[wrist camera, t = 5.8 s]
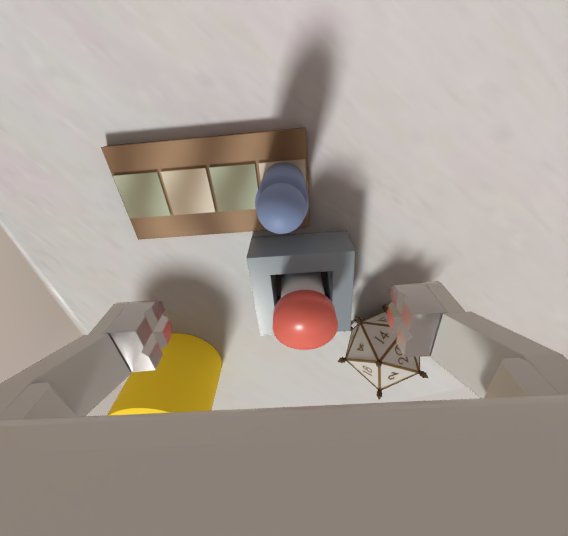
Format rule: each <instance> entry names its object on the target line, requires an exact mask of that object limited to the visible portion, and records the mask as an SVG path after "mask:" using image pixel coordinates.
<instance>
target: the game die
mask: <svg viewBox="0 0 568 536" xmlns="http://www.w3.org/2000/svg"><path fill="white" fill-rule="evenodd" d="M383 310H384V311H383V312H381V313H379V314H377V315H374V316H372V317H370V318H367V319H365V320H363V321H361V319H360V317H356V316H355V321H356V322H357V323H358V324H357V325H356V326H355V327H354V328H353V327H350V331H352V332H351V336H350V340H349V345H348V349H347V353H346V357H345V358H343V357H342V358H340V359H339V361H338V362H341V363H342V362H345V361H347V362H348V363H349V364H350V365H352V366H353V367H354V368H355V369H356V370H357V371H358V372H359V373H360V374H361V375H363V376H364V377H365V378H366V379H367V380H368V381H369V382H370V383H371V384H372V385H374V386H375V387H376V388H377V389H378V391H377V397H378V399H380V398H381V397H382V392H381V391H382V390H383V389H385V388H388V387H390V386H392V385H394V384H397V383H399V382H401V381H403V380H405V379H408V378H410V377H412V376H414V375H416V374H420V376H422V377H423V378H428V376H427V374H426V373H425V372H424V371H420V356H418V357H403V354H402V352H401V350H400V348H399V346H398V344H397V342H396V341H397V335H396V334H395V333H393V332H392V331H391V328H390V326H389V322H388V315H387V310H388V307H387V305H386V304H385V305H384V306H383Z"/></svg>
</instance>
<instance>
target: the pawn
mask: <svg viewBox="0 0 568 536" xmlns="http://www.w3.org/2000/svg"><path fill="white" fill-rule="evenodd" d="M308 206H309V201H308V195H307V189H306V183H305V178H304V175H303V173H302V172H301V170H300V169H299V168H298V167H297V166H295V165H293V164H291V163H287V162H280V163H276V164H274V165H272V166H271V167H269V168H268V169H267V171H266V172H265V174H264V176H263V178H262V181H261V184H260V186H259V189H258V192H257V194H256V198H255V209H256V212H257V216H258V219H259V221H260V222H261V224H262V225H263V226H264V227H265V228H266V229H267V230H269V231H271V232H273V233H277V234H286V233H289V232H292V231H294V230H295V229H297V228H298V227H299V226H300V225H301V223H302V222H303V220H304V218H305V216H306V214H307V211H308Z"/></svg>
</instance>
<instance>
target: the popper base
mask: <svg viewBox="0 0 568 536" xmlns="http://www.w3.org/2000/svg"><path fill="white" fill-rule="evenodd" d="M354 263H355V249H354V247H353V245H352V243H351V240H350V238H349V236H348V233H347V231H336V232H322V233H308V234H294V235H280V236H266V237H252V239H251V243H250V247H249V250H248V254H247V264H248V269H249V275H250V281H251V286H252V292H253V297H254V303H255V309H256V314H257V320H258V325H259V331H260V335H274V332H273V312H274V307H275V305H276V303H277V302H278V301H279V300H280V299H281V296H278V295H277V287H276V279H275V275H277V274H293V273H308V272H324V271H327V293H324V294H325V296H327V297H328V298H329V299H330V300H331V302H332V303H333V305H334V308H335V312H336V317H337V321H338V329H337V331H350V327H351V311H352V295H353V279H354Z"/></svg>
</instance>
